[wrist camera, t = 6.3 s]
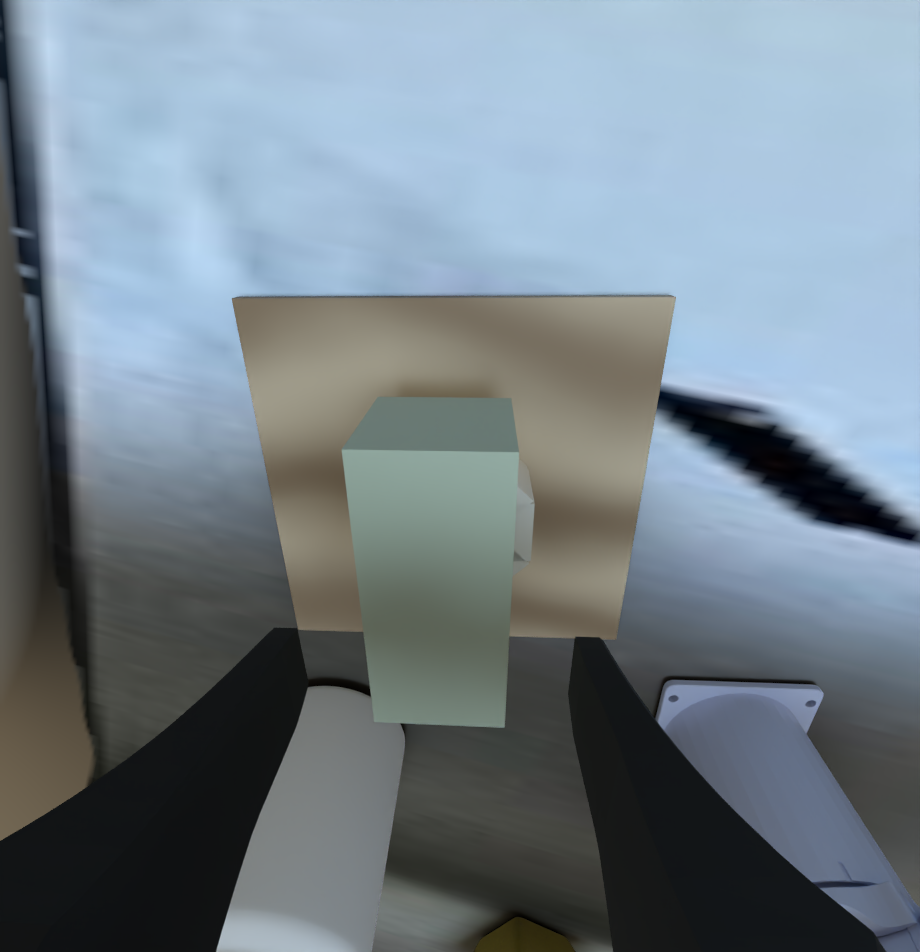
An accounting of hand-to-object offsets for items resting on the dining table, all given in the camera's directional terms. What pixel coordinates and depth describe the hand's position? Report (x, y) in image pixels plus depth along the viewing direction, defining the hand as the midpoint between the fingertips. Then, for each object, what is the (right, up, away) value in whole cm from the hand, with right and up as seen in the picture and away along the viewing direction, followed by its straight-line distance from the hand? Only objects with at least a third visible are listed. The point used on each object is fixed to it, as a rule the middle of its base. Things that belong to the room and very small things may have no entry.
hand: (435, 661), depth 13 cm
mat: (0, +4, +9) cm, 10 cm away
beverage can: (-6, -10, +16) cm, 20 cm away
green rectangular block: (0, +3, +6) cm, 6 cm away
